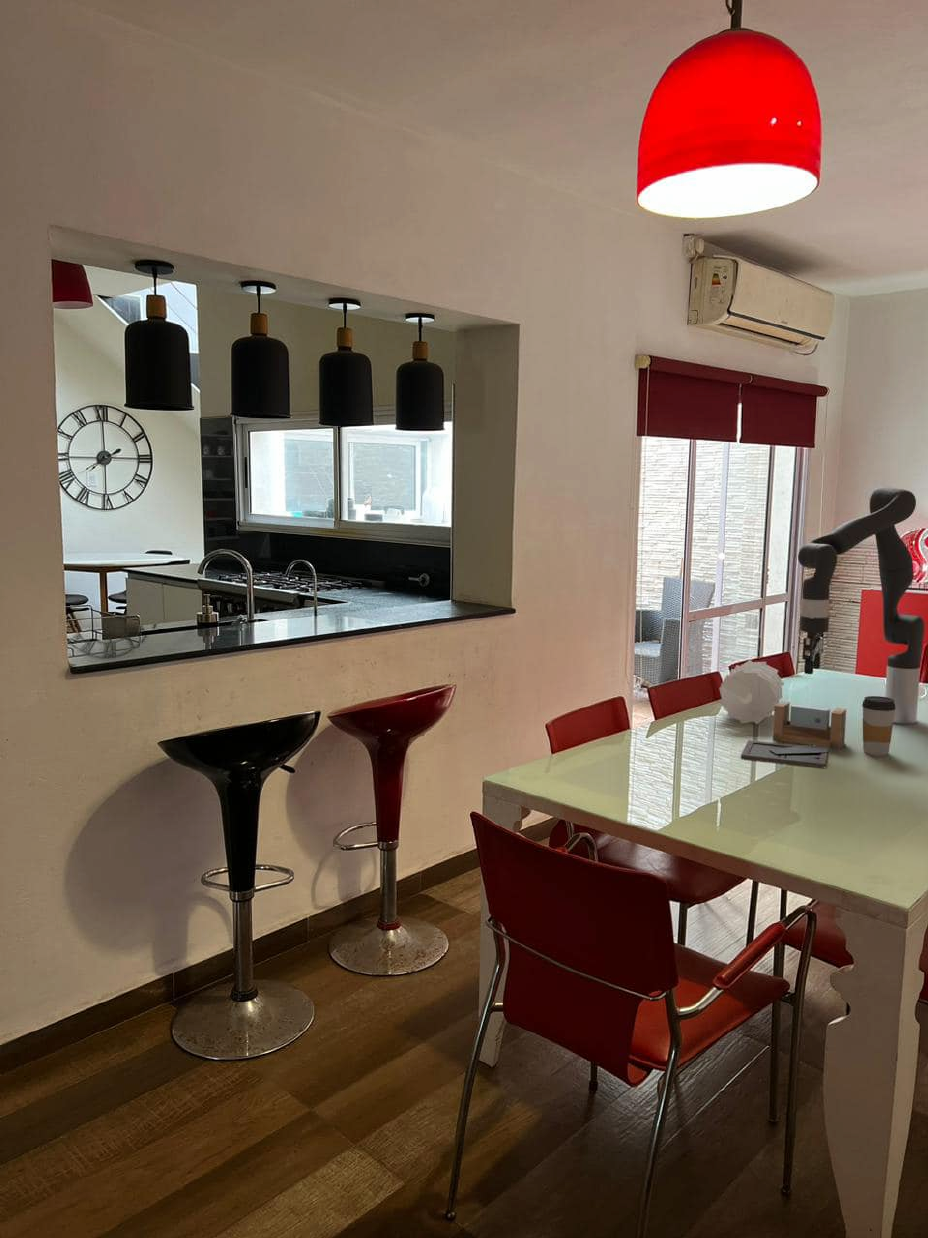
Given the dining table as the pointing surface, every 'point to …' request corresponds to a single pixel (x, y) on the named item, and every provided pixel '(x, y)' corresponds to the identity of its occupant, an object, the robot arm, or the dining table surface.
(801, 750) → the picture frame
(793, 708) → the door panel
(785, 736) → the track
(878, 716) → the coffee cup
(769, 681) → the spiral staircase
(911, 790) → the dining table surface
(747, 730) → the dining table surface
